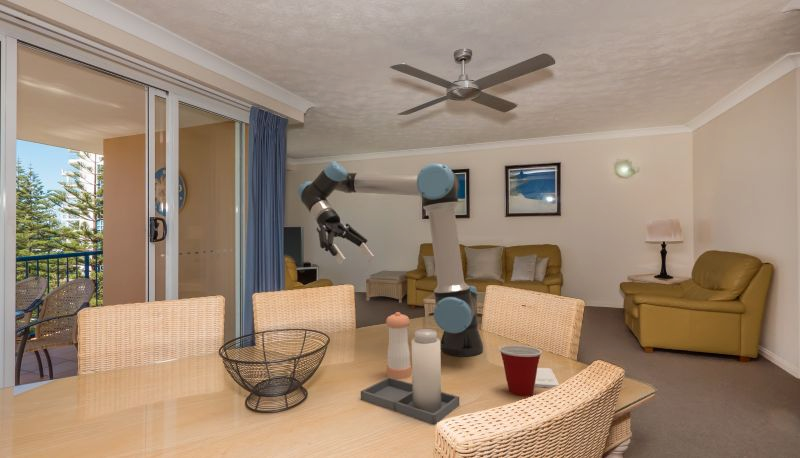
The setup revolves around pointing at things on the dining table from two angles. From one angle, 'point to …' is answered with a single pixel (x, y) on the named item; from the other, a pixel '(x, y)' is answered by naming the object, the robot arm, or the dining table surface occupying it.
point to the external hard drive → (545, 378)
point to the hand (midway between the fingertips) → (357, 260)
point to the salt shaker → (426, 370)
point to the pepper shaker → (398, 347)
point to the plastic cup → (520, 368)
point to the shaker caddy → (406, 400)
